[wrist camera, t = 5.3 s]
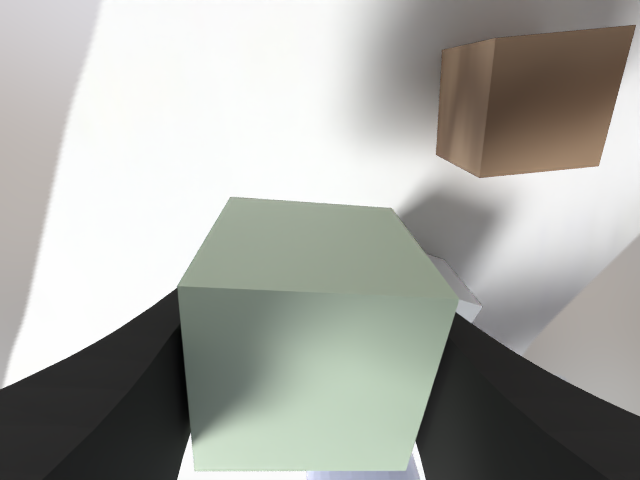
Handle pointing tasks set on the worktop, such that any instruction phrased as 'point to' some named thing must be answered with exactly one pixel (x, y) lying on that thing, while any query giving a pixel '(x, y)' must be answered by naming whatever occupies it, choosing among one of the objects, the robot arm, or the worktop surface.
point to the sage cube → (310, 338)
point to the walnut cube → (530, 100)
